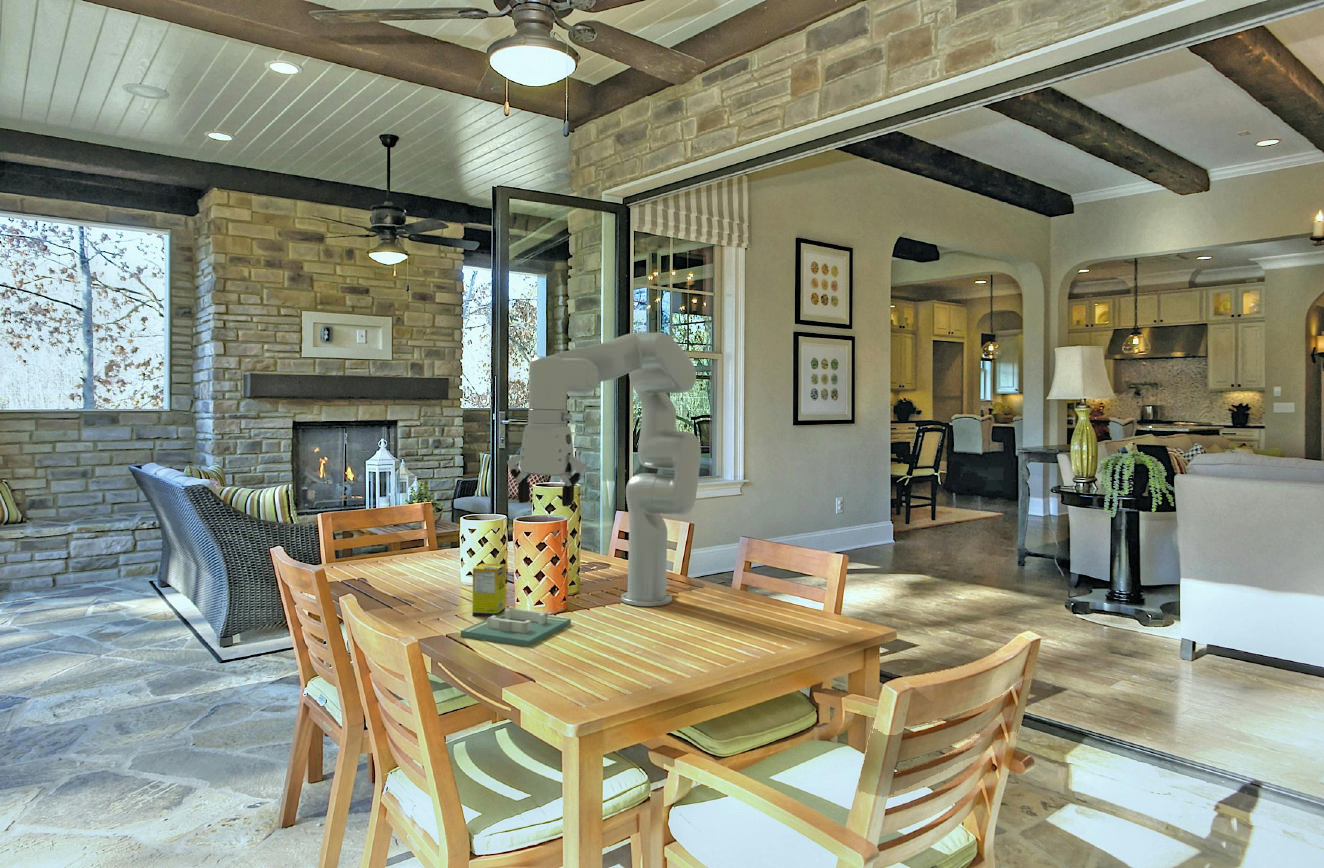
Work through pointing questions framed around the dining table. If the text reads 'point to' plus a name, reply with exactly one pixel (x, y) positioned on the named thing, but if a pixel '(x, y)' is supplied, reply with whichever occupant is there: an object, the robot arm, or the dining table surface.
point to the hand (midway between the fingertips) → (545, 503)
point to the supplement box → (488, 589)
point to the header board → (516, 627)
